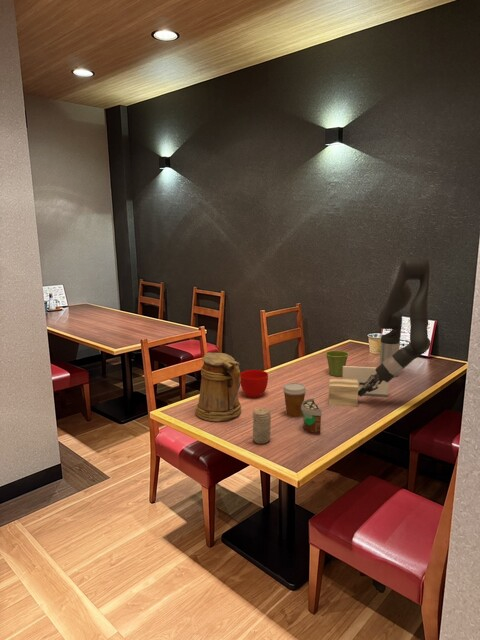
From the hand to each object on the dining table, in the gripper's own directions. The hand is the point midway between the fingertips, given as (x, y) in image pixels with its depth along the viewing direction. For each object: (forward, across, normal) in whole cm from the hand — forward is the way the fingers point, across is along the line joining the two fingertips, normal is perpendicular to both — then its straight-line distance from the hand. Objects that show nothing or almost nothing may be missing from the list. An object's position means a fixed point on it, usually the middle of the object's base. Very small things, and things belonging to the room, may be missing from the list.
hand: (358, 394), depth 199 cm
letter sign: (0, -12, +5) cm, 13 cm away
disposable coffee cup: (+21, +17, -16) cm, 31 cm away
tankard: (+42, +23, -36) cm, 60 cm away
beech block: (+7, 0, -2) cm, 8 cm away
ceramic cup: (+35, -4, -30) cm, 46 cm away
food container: (+16, +30, -11) cm, 36 cm away
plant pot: (+10, -37, -4) cm, 39 cm away
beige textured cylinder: (+28, +43, -22) cm, 56 cm away
